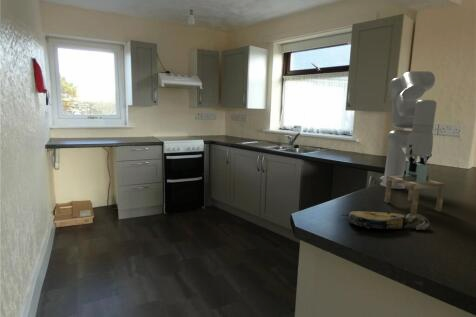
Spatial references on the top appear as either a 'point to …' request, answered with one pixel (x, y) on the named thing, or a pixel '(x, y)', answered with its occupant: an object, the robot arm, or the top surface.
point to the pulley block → (387, 220)
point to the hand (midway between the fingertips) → (416, 171)
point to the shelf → (415, 189)
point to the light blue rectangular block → (419, 172)
